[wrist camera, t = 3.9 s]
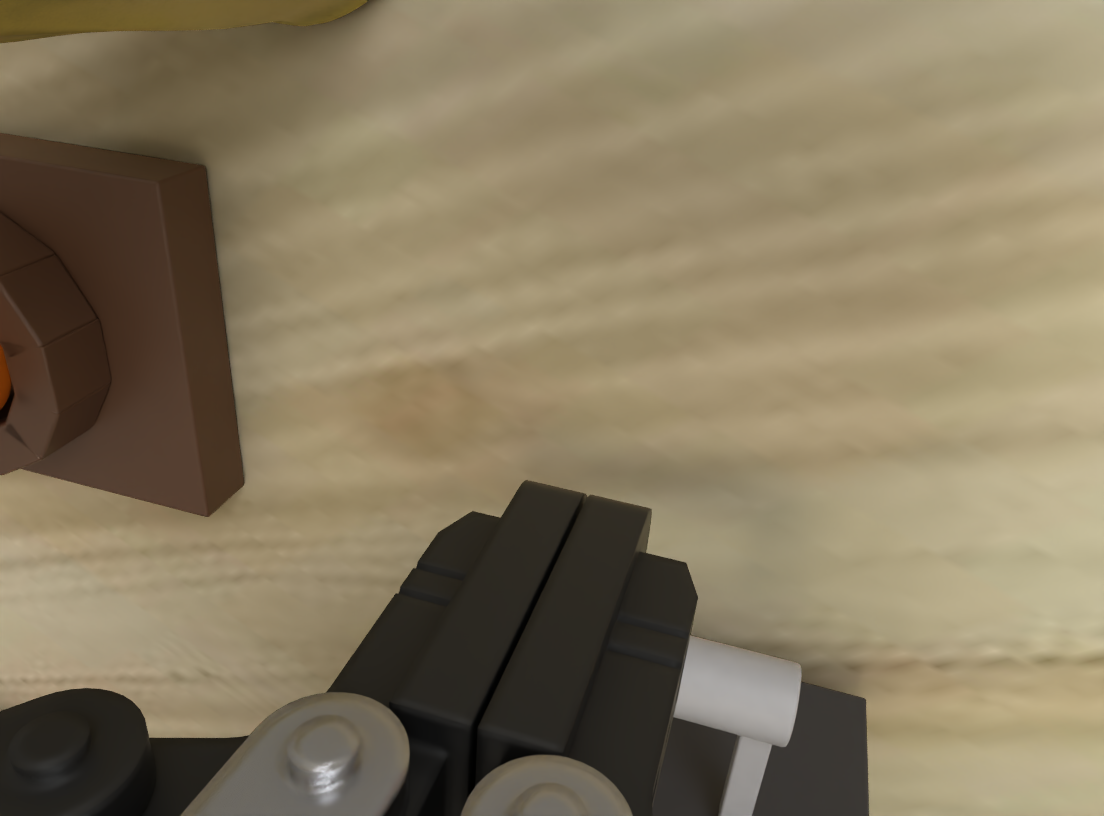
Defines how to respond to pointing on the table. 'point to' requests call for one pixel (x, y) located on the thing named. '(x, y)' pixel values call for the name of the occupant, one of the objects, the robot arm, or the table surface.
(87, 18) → the vase
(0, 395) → the button
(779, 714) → the drawer
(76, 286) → the control block
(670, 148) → the table surface
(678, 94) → the table surface
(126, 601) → the table surface
